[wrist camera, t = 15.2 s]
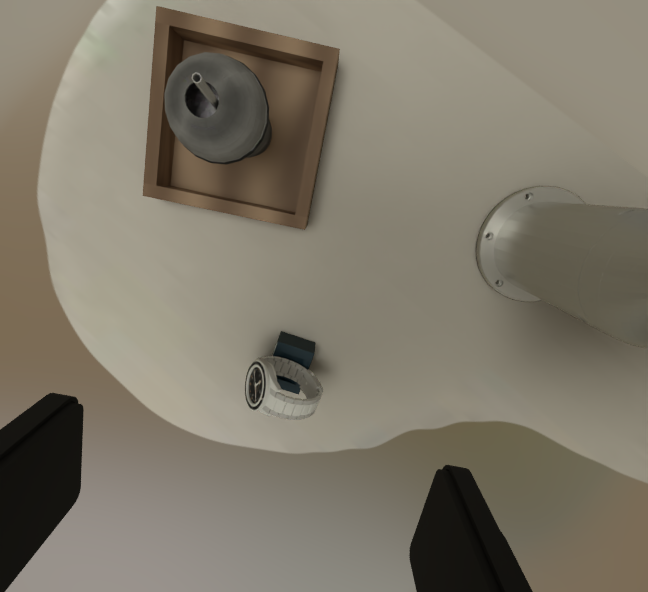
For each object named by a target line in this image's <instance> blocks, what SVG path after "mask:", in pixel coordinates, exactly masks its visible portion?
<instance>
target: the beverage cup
mask: <svg viewBox="0 0 648 592" xmlns="http://www.w3.org/2000/svg"><path fill="white" fill-rule="evenodd" d="M164 98H165V112H166V115H167V119H168V122H169V125H170V127H171V129H172V131H173V132H174V134H175V135H176V137H177V138H178V140H179V141H180V142H181V143H182V144H183V146H184V147H185V148H187V149H188V150H189V151H190V152H191V153H192V154H194V155H195V156H196V157H198V158H200V159H202V160H205V161H207V162H209V163H214V164H225V165H227V164H231V163H235V162H239V161H242V160H243V159H245V158H249V157H254V156H258V155H260V154H261V153H263V152H264V151H265V150H266V149H267V148H268V146H269V145H270V142H271V139H272V127H271V123H270V120H269V105H268V100H267V96H266V92H265V89H264V88H263V86H262V84H261V83H260V81H259V79H258V77H257V76H256V74H254V73H253V72H252V71H251V70H250V69H249V68H248V67H247V66H246V65H245V64H244V63H242V62H240V61H238V60H236V59H233V58H231V57H229V56H226V55H224V54H220V53H209V52H204V53H200V54H197V55H193V56H190V57H188V58H187V59H185V60H184V61H183V62H181V63H180V64H178V65H177V66H176V68H175V69H174V71H173V72H172V74H171V75H170V77H169V78H168V82H167V86H166V89H165V93H164Z"/></svg>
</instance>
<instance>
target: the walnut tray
mask: <svg viewBox="0 0 648 592" xmlns="http://www.w3.org/2000/svg"><path fill="white" fill-rule="evenodd" d="M339 50H340V49H337V48H333V47H329V46H324V45H320V44H316V43H312V42H307V41H303V40H299V39H295V38H290V37H286V36H282V35H278V34H273V33H269V32H265V31H261V30H256V29H252V28H248V27H244V26H239V25H235V24H231V23H227V22H222V21H218V20H214V19H210V18H205V17H201V16H197V15H193V14H188V13H184V12H180V11H176V10H171V9H167V8H163V7H159V6H157V7H156V21H155V34H154V48H153V62H152V76H151V89H150V103H149V117H148V131H147V144H146V158H145V172H144V186H143V196H147V197H152V198H157V199H161V200H166V201H171V202H176V203H180V204H185V205H190V206H195V207H199V208H204V209H209V210H214V211H218V212H223V213H228V214H233V215H237V216H242V217H247V218H252V219H256V220H261V221H266V222H271V223H275V224H280V225H285V226H290V227H294V228H299V229H304V230H305V228H306V226H307V223H308V218H309V213H310V208H311V202H312V197H313V192H314V187H315V182H316V176H317V171H318V166H319V161H320V156H321V151H322V145H323V140H324V135H325V130H326V125H327V120H328V114H329V109H330V104H331V99H332V94H333V89H334V83H335V78H336V73H337V68H338V60H339ZM204 52H209V53H220V54H224V55H226V56H229V57H231V58H233V59H236V60H238V61H240V62H242V63H244V64H245V65H246V66H247V67H248V68H249V69H250V70H251V71H252V72H253V73H254V74H256V76H257V77H258V79H259V81H260V83H261V84H262V86H263V88H264V89H265V92H266V96H267V100H268V105H269V120H270V123H271V127H272V139H271V142H270V145H269V146H268V148H267V149H266V150H265V151H264V152H263V153H261V154H260V155H258V156H254V157H249V158H245V159H243V160H242V161H239V162H235V163H231V164H227V165H225V164H214V163H209V162H207V161H205V160H202V159H200V158H198V157H196V156H195V155H194V154H192V153H191V152H190V151H189V150H188V149H187V148H185V147H184V146H183V144H182V143H181V142H180V141H179V140H178V138H177V137H176V135H175V134H174V132H173V131H172V129H171V127H170V125H169V122H168V119H167V115H166V112H165V98H164V93H165V89H166V86H167V82H168V78H169V77H170V75H171V74H172V72H173V71H174V69H175V68H176V66H177V65H178V64H180V63H181V62H183V61H184V60H185V59H187V58H188V57H190V56H193V55H197V54H200V53H204Z"/></svg>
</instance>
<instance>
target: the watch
mask: <svg viewBox="0 0 648 592" xmlns="http://www.w3.org/2000/svg"><path fill="white" fill-rule="evenodd" d="M314 352H315V342H312V341H309V340H306V339H303V338H300V337H297V336H294V335H291V334H288V333H285V332H282V331H281V333H280V336H279V339H278V342H277V343H276V346H275V349H274V352H273V355H272V356H267V357H266V356H265V357H261V358H257V359H256V361H254V362H253V363H252V364H251V366H250V367H249V370H248V372H247V376H246V382H245V396H246V401H247V404H248V406H249V408H250V409H251V410H253V411H259V412H261V413H263V414H265V415H267V416H272V415H273V416H276V417H279V418H283V419H288V420H301V419H305V418H308V417H310V416H311V415H312V414H313V413H314V412H315V410H316V408H317V405H318V403H319V400H320V398H321V395H322V392H323V388H322V386H321V384H320V382H319V380H318V379H317V377H316V376H315V375H314V373H312V371H311V370H310V369H309V366H310V364H311V361H312V358H313V356H314ZM308 369H309V370H308ZM282 389H283V390H286V391H290V392H293V393H296V394H299V392H300V389H301V390H302V391H303V393H304V394H305V395H306V397H307V399H303V400H302V399H297V398H295V399H294V398H292V397H289V396H286V397H285V395H284V394H281V393H279V392H281V390H282ZM284 399H285V400H284ZM285 404H286V405H285ZM278 415H279V416H278Z"/></svg>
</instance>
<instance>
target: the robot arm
mask: <svg viewBox="0 0 648 592" xmlns="http://www.w3.org/2000/svg"><path fill="white" fill-rule="evenodd" d="M525 195H527V198H526V199H525ZM487 233H488V237H485V235H486V234H487ZM476 251H477V262H478V266H479V269H480V271H481V274H482V276H483V277H484V279H485V280H486V282H487V283H488V284H489V285H490V286H491V287H492V288H493V289H494V290H496V291H497V292H499V293H500V294H502V295H503V296H506V297H508V298H510V299H513V300H518V301H523V302H535V301H541V300H543V301H545V302H547V303H549V304H551V305H553V306H555V307H556V308H558V309H560V310H562V311H564V312H566V313H568V314H570V315H572V316H573V317H575V318H577V319H579V320H581V321H583V322H585V323H587V324H589V325H591V326H592V327H594V328H596V329H598V330H600V331H602V332H604V333H606V334H608V335H610V336H612V337H614V338H616V339H618V340H620V341H623V342H625V343H628V344H631V345H635V346H639V347H644V348H648V209H642V208H628V207H614V206H600V205H587V204H586V203H585V202H584V201H583V200H582V199H581V198H580V197H579V196H577V195H575V194H574V193H572V192H570V191H568V190H565V189H562V188H559V187H551V186H537V187H531V188H526V189H523V190H521V191H518V192H515V193H514V194H512V195H510V196H509V197H507V198H505V199H504V200H503V201H502V202H500V203H499V204H498V205H497V206H496V207H495V208H494V209H493V210H492V212H491V213H490V214H489V215H488V217H487V218H486V220H485V222H484V224H483V225H482V228H481V230H480V233H479V236H478V241H477V247H476ZM497 280H498V282H497V283H495V282H496V281H497ZM82 433H83V406H82V405H81V404H78V400H77V398H76V397H72V396H67V395H62V394H56V393H50V394H48V395H46V396H45V397H43V398H42V399H41V400H39V401H38V402H37V403H36V404H34V405H33V406H32V407H30V408H29V409H27V410H26V411H25V412H23V413H22V414H21V415H19V416H18V417H17V418H15V419H14V420H13V421H11V422H10V423H9V424H7V425H6V426H5V427H3V428H2V429H1V430H0V592H5V591H6V589H7V588H8V587H9V585H10V584H11V583H12V582H13V581H14V579H15V578H16V577H17V575H18V574H19V573H20V572H21V571H22V569H23V568H24V567H25V565H26V564H27V563H28V562H29V560H30V559H31V558H32V557H33V555H34V554H35V553H36V552H37V550H38V549H39V548H40V547H41V545H42V544H43V543H44V541H45V540H46V539H47V538H48V536H49V535H50V534H51V533H52V531H53V530H54V529H55V528H56V526H57V525H58V524H59V523H60V521H61V520H62V519H63V518H64V516H65V515H66V514H67V513H68V511H69V510H70V509H71V508H72V506H73V505H74V503H75V502H76V500H77V498H78V496H79V493H80V488H81V462H82V461H81V460H82V435H83V434H82ZM410 563H411V567H412V572H413V576H414V581H415V585H416V590H417V592H532V590H531V588H530V586H529V584H528V582H527V580H526V578H525V576H524V574H523V572H522V570H521V568H520V566H519V564H518V562H517V560H516V558H515V556H514V555H513V552H512V550H511V548H510V546H509V544H508V542H507V540H506V538H505V537H504V536H503V534H502V532H501V531H500V530H499V528H498V526H497V524H496V522H495V520H494V518H493V516H492V514H491V512H490V510H489V508H488V506H487V504H486V502H485V500H484V498H483V496H482V494H481V492H480V490H479V488H478V486H477V484H476V482H475V480H474V478H473V476H472V474H471V472H470V471H469V469H466V468H461V467H456V466H450V465H445V466H444V467H443V469H442V470H440V469H438V470H437V471H436V474H435V477H434V479H433V482H432V485H431V488H430V491H429V494H428V497H427V499H426V503H425V505H424V508H423V511H422V514H421V517H420V520H419V522H418V525H417V528H416V531H415V534H414V537H413V539H412V542H411V546H410Z"/></svg>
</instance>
